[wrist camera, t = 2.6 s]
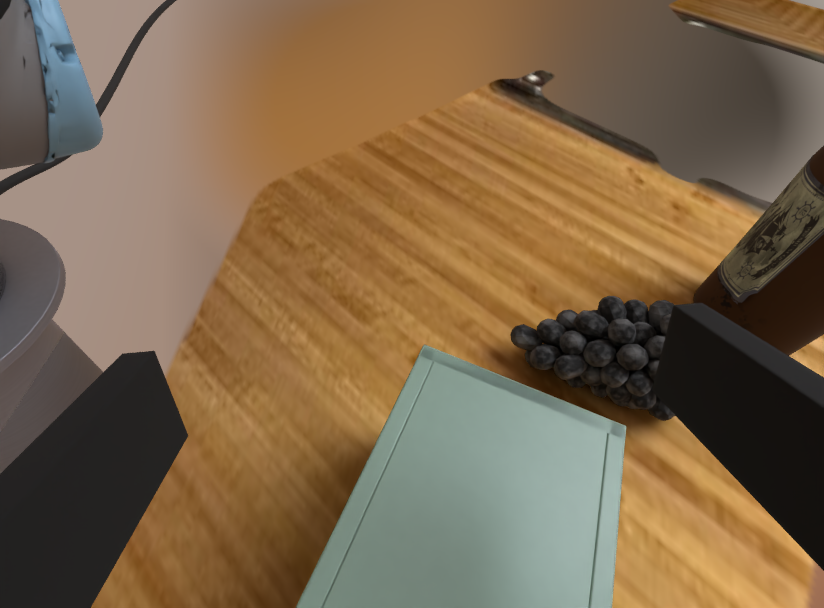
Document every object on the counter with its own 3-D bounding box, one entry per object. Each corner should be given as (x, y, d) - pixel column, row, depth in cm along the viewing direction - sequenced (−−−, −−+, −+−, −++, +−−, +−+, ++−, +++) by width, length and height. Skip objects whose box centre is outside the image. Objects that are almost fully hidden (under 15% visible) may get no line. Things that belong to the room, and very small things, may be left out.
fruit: (532, 301, 27) (778, 360, 25) (529, 252, 34) (721, 295, 32) (498, 397, 31) (703, 451, 30) (501, 336, 38) (667, 377, 37)
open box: (474, 815, 19) (584, 989, 10) (285, 701, 21) (223, 754, 11) (538, 495, 28) (627, 425, 19) (404, 435, 30) (424, 343, 20)
